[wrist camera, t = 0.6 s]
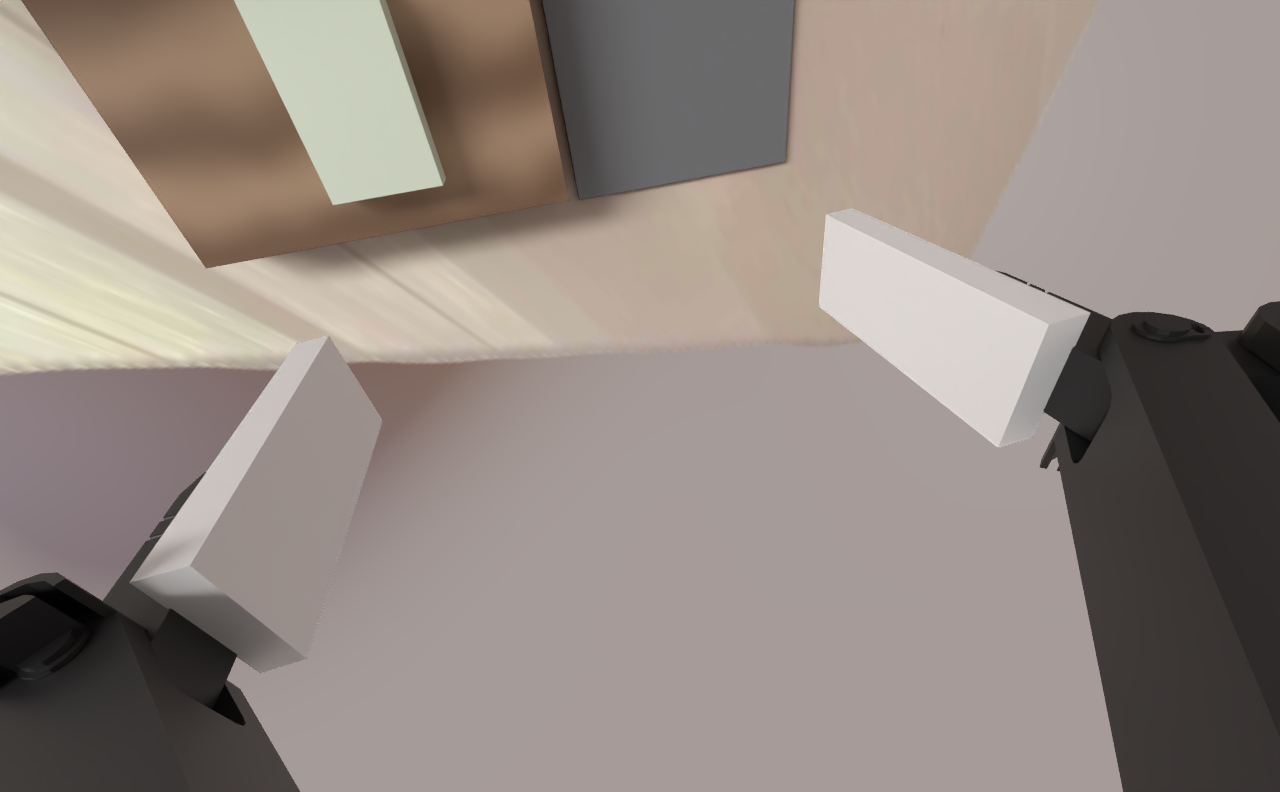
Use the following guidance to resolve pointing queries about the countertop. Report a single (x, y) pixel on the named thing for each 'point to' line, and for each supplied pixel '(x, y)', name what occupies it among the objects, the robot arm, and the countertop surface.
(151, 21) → the board
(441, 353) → the countertop surface
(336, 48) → the pale green block
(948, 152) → the countertop surface
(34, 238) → the countertop surface
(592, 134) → the mat
